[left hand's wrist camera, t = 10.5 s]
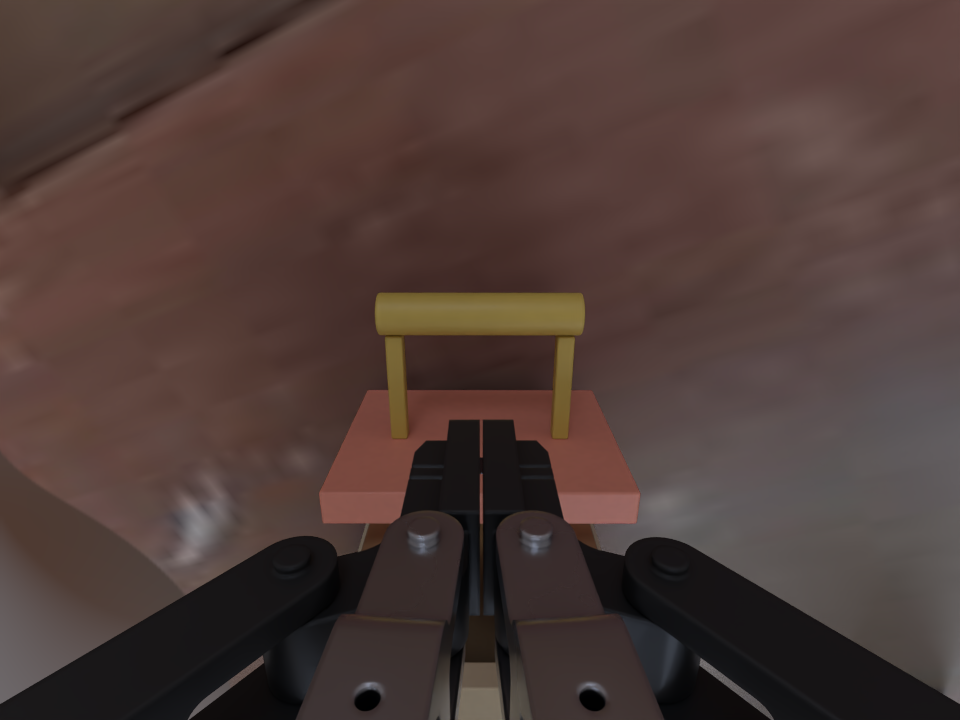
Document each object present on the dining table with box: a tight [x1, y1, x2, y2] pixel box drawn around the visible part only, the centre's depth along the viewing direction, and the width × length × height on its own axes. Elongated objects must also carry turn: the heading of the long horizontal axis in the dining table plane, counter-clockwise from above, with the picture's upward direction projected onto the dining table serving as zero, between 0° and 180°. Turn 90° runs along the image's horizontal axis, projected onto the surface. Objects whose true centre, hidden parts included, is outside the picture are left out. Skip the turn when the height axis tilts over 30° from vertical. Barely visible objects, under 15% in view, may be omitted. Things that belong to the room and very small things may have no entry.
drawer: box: [319, 293, 640, 662], centre depth 22 cm, size 22×10×8 cm, turn 0°
